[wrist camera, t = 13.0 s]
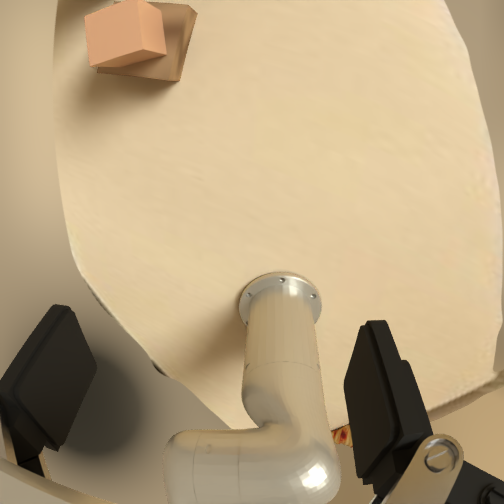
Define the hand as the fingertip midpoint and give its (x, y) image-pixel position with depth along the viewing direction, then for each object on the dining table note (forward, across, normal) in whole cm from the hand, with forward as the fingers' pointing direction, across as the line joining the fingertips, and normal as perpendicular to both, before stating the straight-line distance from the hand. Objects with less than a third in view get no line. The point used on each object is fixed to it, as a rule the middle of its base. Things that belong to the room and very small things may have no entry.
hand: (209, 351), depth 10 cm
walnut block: (+33, +12, -14) cm, 38 cm away
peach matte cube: (+28, +12, -14) cm, 33 cm away
